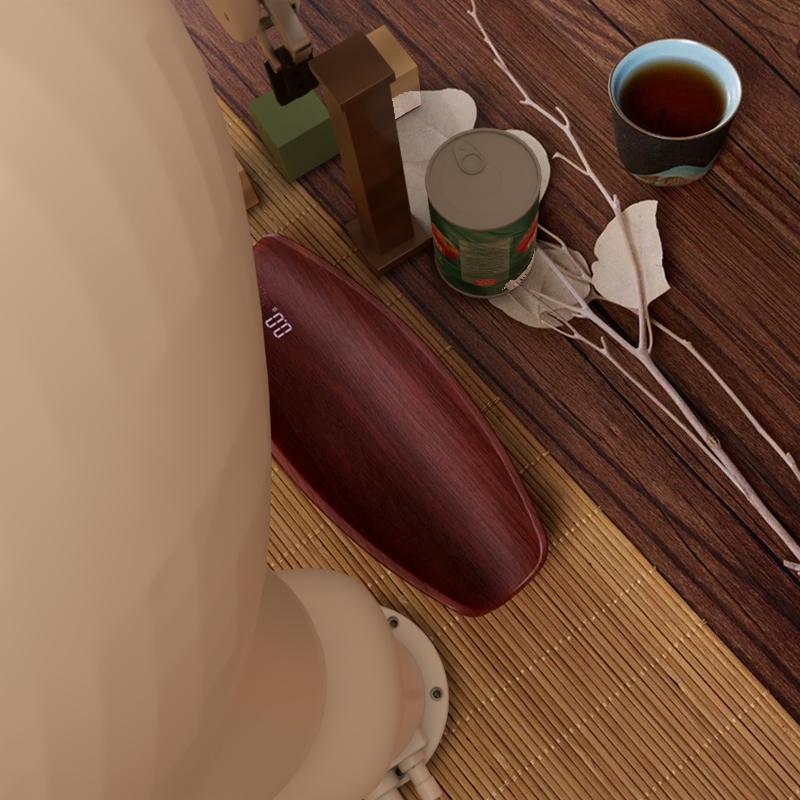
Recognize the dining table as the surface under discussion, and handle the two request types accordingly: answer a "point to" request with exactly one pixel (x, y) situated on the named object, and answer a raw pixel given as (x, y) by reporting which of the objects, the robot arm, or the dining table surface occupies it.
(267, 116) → the green block
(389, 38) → the line block
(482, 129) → the canned tomato
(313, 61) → the stand
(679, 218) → the dining table surface
